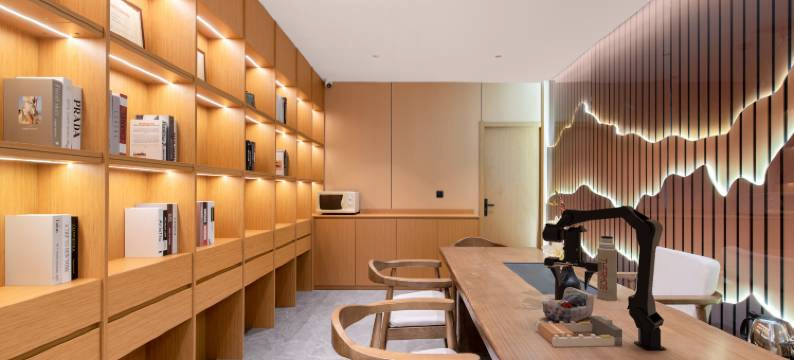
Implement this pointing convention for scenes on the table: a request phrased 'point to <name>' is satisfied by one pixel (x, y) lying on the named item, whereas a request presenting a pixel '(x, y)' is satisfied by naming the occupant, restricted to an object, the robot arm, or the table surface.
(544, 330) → the block
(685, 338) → the table surface
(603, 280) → the thermos bottle
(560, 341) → the comb channel
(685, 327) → the table surface
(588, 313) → the cell model
